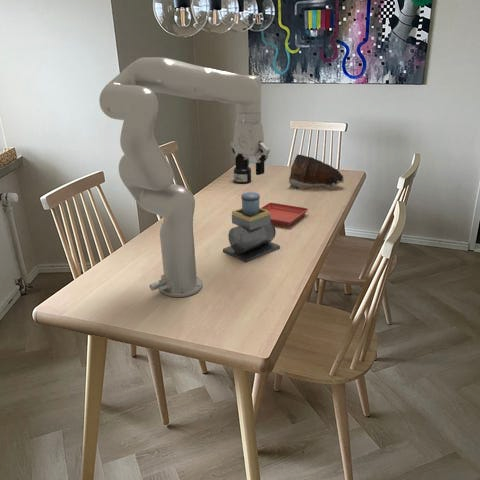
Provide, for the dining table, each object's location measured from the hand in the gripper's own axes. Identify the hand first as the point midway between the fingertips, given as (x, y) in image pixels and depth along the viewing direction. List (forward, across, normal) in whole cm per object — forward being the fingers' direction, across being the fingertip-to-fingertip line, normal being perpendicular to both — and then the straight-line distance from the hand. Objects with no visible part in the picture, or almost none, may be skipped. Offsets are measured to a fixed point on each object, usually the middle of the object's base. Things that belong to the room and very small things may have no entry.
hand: (249, 171), depth 153 cm
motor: (+28, 0, 0) cm, 28 cm away
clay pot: (+28, -32, +72) cm, 84 cm away
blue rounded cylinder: (+15, 0, 0) cm, 15 cm away
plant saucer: (+29, -15, +29) cm, 44 cm away
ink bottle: (+28, -65, +53) cm, 89 cm away
